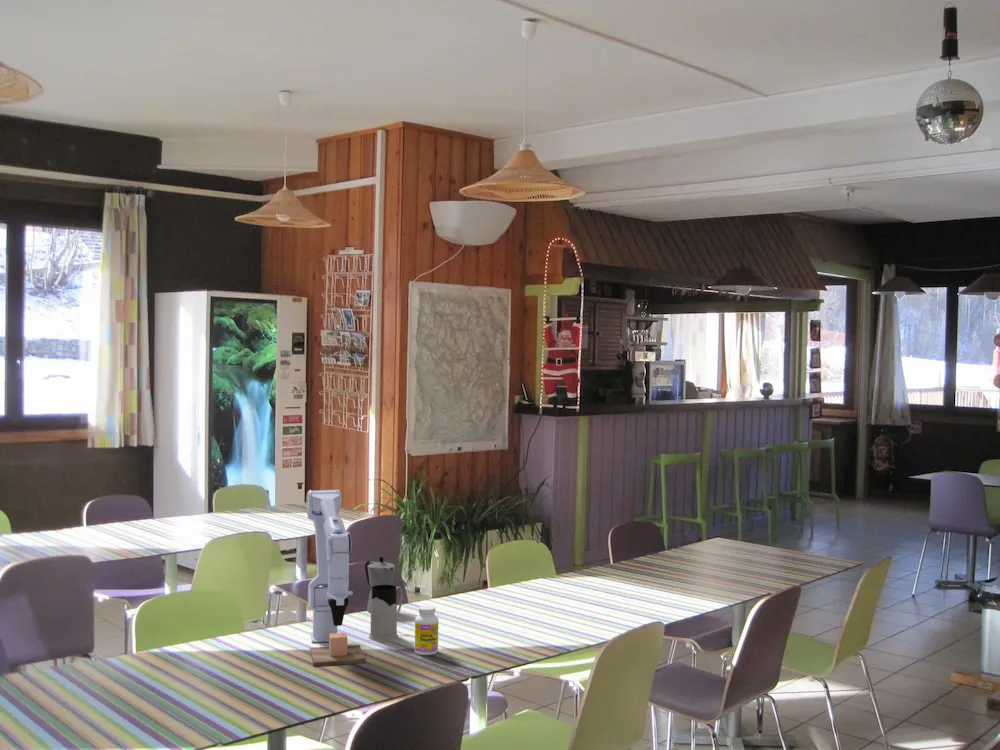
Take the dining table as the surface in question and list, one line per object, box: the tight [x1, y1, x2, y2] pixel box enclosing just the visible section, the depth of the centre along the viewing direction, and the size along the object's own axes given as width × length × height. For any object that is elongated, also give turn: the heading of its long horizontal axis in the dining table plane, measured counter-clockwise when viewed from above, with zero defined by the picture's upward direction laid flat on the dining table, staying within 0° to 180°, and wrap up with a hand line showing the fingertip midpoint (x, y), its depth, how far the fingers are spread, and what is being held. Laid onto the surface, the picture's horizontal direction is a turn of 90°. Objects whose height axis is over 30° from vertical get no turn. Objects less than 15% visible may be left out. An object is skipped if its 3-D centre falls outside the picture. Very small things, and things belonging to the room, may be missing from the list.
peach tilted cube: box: [328, 632, 348, 656], centre depth 270 cm, size 5×5×5 cm
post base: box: [310, 644, 366, 667], centre depth 270 cm, size 14×14×5 cm
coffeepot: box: [364, 556, 396, 614], centre depth 323 cm, size 15×9×18 cm, turn 44°
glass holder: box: [368, 584, 404, 642], centre depth 293 cm, size 9×14×15 cm, turn 152°
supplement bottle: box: [414, 605, 439, 656], centre depth 275 cm, size 7×7×13 cm
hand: (337, 625), depth 270 cm, fingers closed
